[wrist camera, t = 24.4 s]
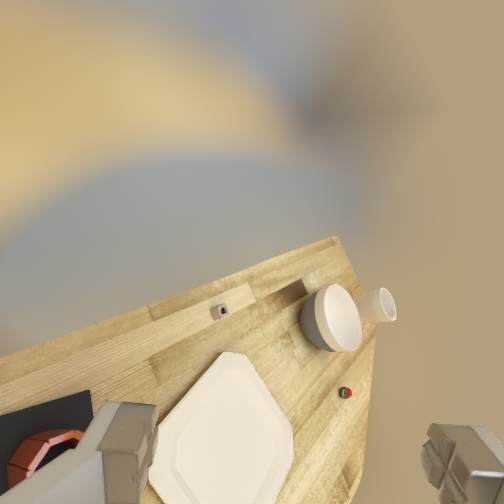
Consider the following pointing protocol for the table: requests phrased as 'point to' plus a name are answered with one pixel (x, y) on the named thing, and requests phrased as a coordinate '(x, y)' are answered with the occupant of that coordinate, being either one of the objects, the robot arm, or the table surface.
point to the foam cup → (376, 306)
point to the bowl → (331, 320)
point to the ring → (346, 392)
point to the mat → (42, 427)
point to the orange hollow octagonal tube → (38, 452)
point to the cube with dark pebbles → (219, 311)
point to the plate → (223, 440)
